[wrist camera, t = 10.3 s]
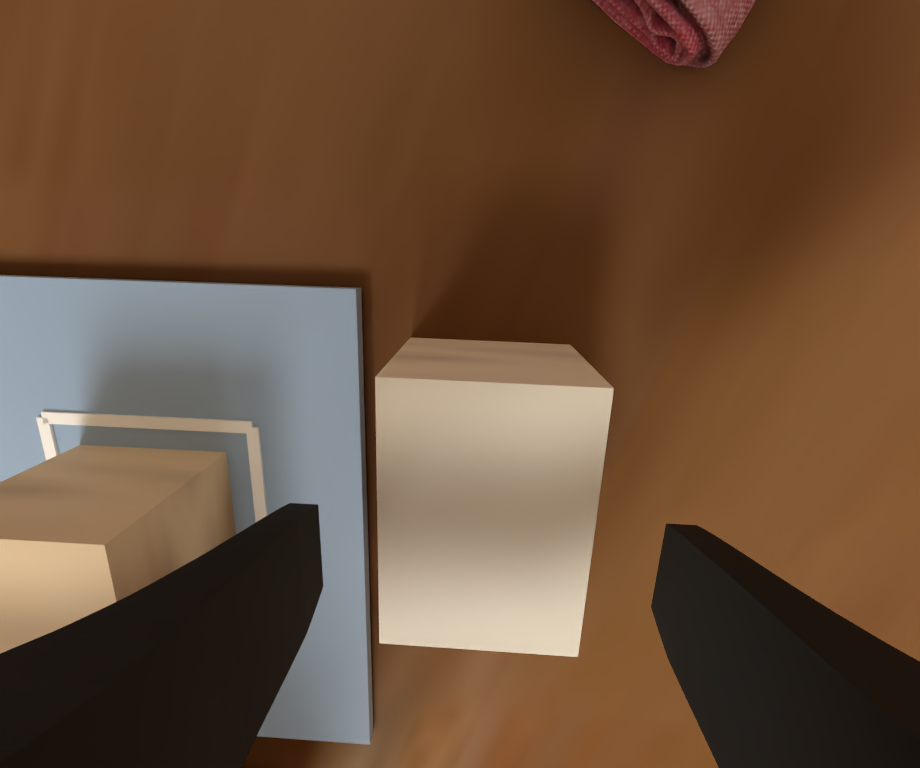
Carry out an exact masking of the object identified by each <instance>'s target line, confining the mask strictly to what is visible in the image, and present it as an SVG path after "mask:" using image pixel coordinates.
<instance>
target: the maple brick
mask: <svg viewBox="0 0 920 768" xmlns="http://www.w3.org/2000/svg"><path fill="white" fill-rule="evenodd" d="M234 535H236V531H235V522H234V514H233V506H232V497H231V489H230V481H229V472H228V464H227V456H226V452H214V451H193V450H173V449H153V448H132V447H112V446H92V445H78V446H76V447H74V448H72V449H70V450H68V451H66V452H63V453H61V454H59V455H57V456H55V457H53V458H51V459H48V460H46V461H44V462H42V463H40V464H38V465H36V466H34V467H31V468H29V469H27V470H25V471H23V472H21V473H19V474H16V475H14V476H12V477H10V478H8V479H6V480H4V481H1V482H0V653H3V652H5V651H7V650H10V649H12V648H15V647H17V646H19V645H22V644H24V643H27V642H29V641H31V640H34V639H36V638H39V637H41V636H43V635H46V634H48V633H51V632H53V631H55V630H58V629H60V628H62V627H64V626H66V625H69V624H71V623H73V622H75V621H77V620H79V619H81V618H83V617H86V616H88V615H90V614H92V613H94V612H96V611H98V610H100V609H102V608H105V607H107V606H109V605H111V604H113V603H115V602H117V601H119V600H121V599H123V598H125V597H127V596H129V595H131V594H133V593H135V592H136V591H138V590H140V589H142V588H144V587H146V586H148V585H150V584H151V583H153V582H155V581H157V580H159V579H160V578H162V577H164V576H166V575H167V574H169V573H171V572H173V571H175V570H176V569H178V568H180V567H182V566H184V565H185V564H187V563H189V562H191V561H192V560H194V559H196V558H198V557H200V556H201V555H203V554H205V553H206V552H208V551H210V550H211V549H213V548H215V547H216V546H218V545H220V544H221V543H223V542H225V541H226V540H228V539H230V538H231V537H233V536H234Z"/></svg>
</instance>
